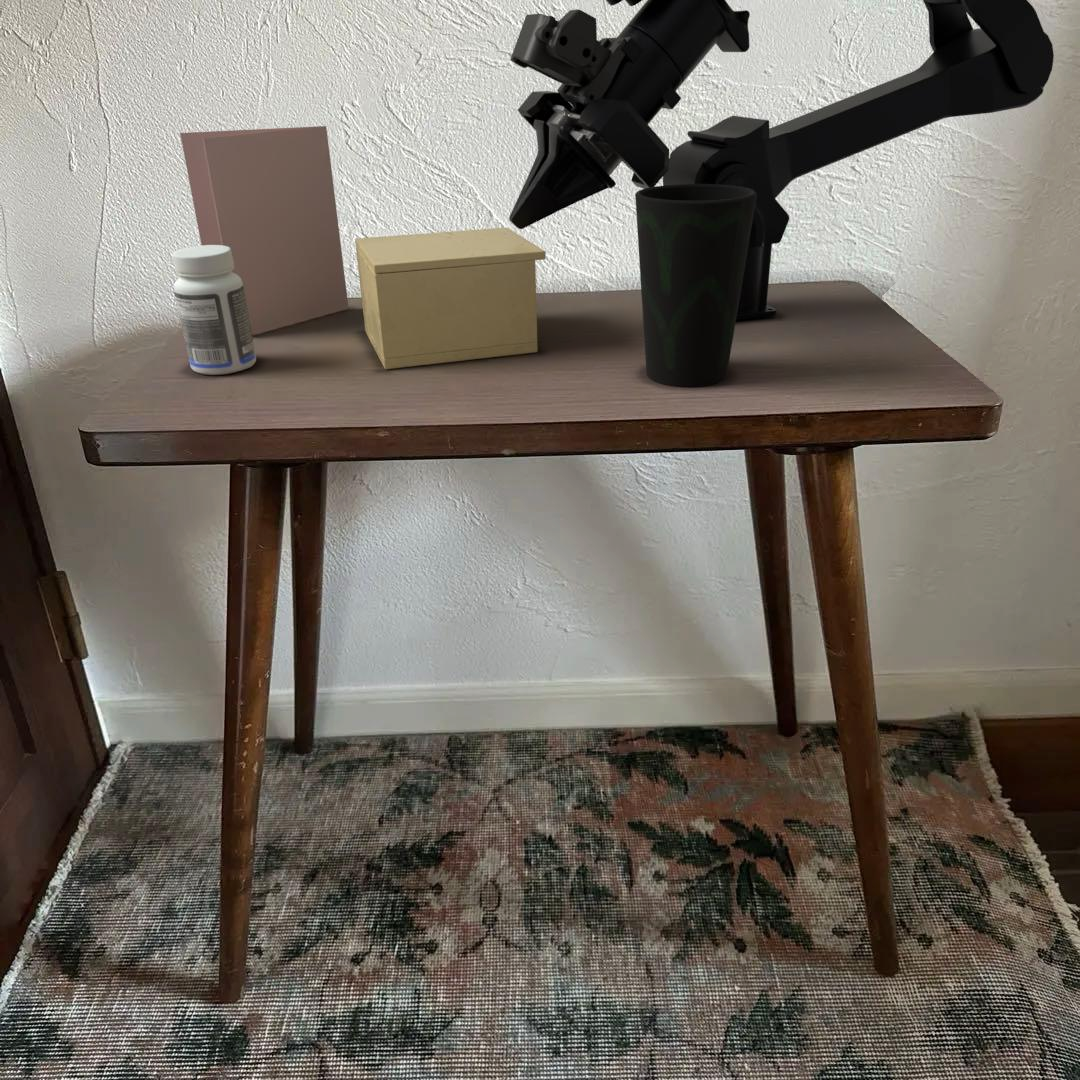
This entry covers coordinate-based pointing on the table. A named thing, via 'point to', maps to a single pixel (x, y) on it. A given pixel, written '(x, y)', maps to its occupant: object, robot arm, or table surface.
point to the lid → (446, 250)
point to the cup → (691, 277)
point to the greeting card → (271, 218)
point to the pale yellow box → (449, 312)
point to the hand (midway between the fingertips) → (514, 224)
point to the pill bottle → (213, 310)
